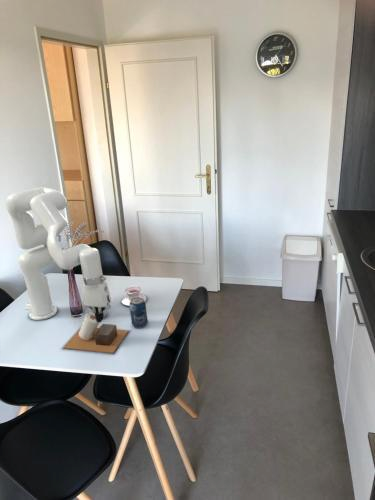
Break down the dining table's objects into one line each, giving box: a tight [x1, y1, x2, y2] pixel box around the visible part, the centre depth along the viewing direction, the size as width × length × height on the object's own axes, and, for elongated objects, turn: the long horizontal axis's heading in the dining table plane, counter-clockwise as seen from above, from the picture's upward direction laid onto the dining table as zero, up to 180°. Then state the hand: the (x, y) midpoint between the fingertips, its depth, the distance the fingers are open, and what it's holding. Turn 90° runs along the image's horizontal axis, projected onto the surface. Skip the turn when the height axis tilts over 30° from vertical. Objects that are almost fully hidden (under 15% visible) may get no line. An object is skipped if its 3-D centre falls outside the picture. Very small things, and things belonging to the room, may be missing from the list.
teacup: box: [121, 285, 147, 307], centre depth 204 cm, size 12×12×6 cm
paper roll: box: [78, 311, 100, 340], centre depth 173 cm, size 11×6×12 cm, turn 75°
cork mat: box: [62, 327, 129, 354], centre depth 174 cm, size 22×16×1 cm
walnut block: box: [94, 323, 118, 346], centre depth 172 cm, size 6×8×5 cm
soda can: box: [129, 297, 149, 329], centre depth 181 cm, size 7×7×12 cm
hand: (100, 320), depth 170 cm, fingers closed
